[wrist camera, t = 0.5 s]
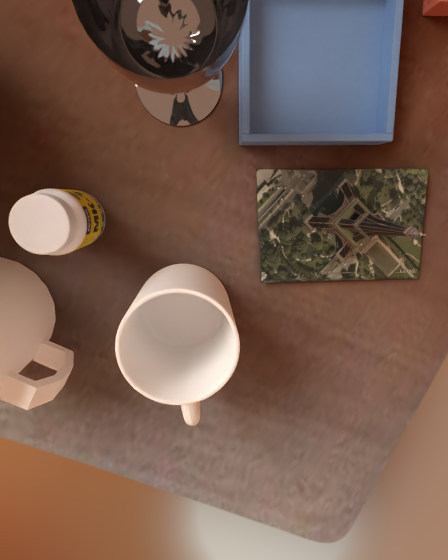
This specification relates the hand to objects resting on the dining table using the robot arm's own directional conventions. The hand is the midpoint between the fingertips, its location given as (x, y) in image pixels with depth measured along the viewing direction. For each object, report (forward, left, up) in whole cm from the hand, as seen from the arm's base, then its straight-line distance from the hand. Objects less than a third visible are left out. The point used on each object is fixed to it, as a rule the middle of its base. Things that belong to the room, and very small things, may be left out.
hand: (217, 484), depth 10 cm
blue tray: (-17, +9, -26) cm, 33 cm away
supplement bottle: (-5, -11, -26) cm, 29 cm away
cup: (+5, -2, -26) cm, 26 cm away
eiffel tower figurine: (-4, +12, -26) cm, 29 cm away
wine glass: (-16, -2, -26) cm, 31 cm away
